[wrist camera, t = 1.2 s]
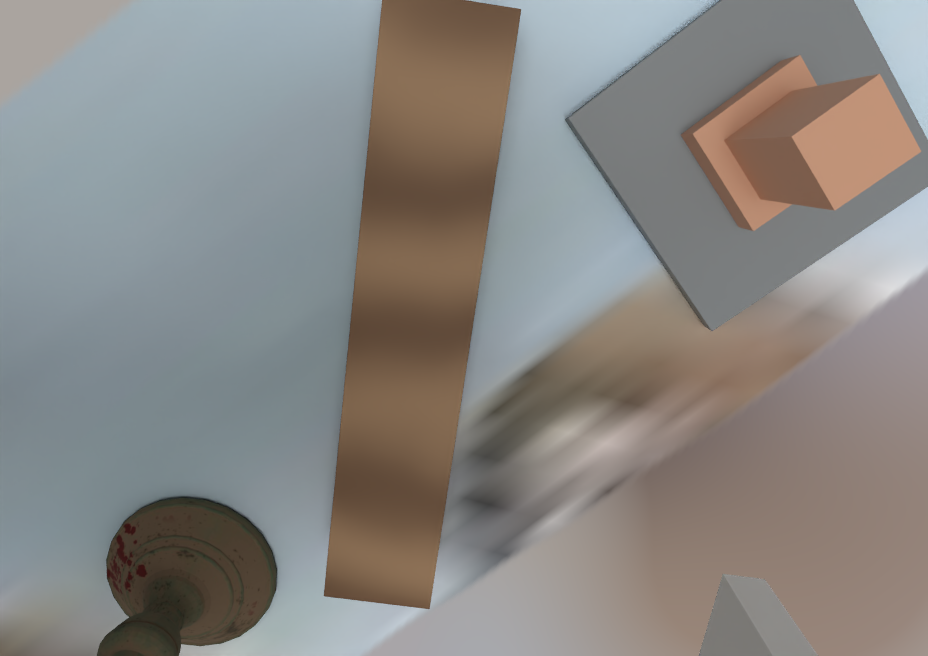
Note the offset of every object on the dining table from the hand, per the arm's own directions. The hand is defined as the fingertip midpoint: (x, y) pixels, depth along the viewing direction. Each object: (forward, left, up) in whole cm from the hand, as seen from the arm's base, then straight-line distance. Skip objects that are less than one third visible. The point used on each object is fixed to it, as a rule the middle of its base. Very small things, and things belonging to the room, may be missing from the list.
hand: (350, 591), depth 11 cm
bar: (0, 0, -20) cm, 20 cm away
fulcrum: (+13, +11, -20) cm, 26 cm away
